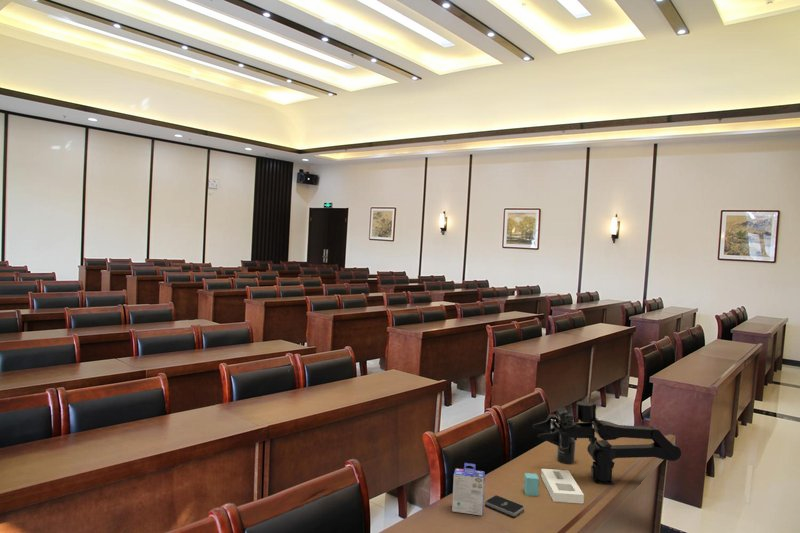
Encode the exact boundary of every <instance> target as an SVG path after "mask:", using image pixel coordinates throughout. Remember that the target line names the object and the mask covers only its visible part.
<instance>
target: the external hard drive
mask: <svg viewBox="0 0 800 533" xmlns="http://www.w3.org/2000/svg"><path fill="white" fill-rule="evenodd" d="M484 505H485V507H486V508H489V509H490V510H493V511H495V512H498V513H501V514H502V515H505V516H507V517H509V518H513V519H515V518H516V517H518V516H520V515H521V514H522V513H523V512H525V505H523V504H520V503H518V502H515V501H513V500H510V499H507V498H505V497H503V496H500V495H497V494H494V495H493V496H490V497H489V498H488V499H486V500H484Z"/></svg>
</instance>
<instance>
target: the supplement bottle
mask: <svg viewBox="0 0 800 533" xmlns="http://www.w3.org/2000/svg"><path fill="white" fill-rule="evenodd" d="M575 452H576V440H575V441H574V440H573V438H572V439H569V447H568V448H567V449H562V448H561V447H558V446H557V452H556V460H557V461H558V462H560V463H563V464H566V465H571V464H574V462H575V456H576V453H575Z"/></svg>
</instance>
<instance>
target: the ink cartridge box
mask: <svg viewBox="0 0 800 533" xmlns="http://www.w3.org/2000/svg"><path fill="white" fill-rule="evenodd" d="M463 464H464V466H463V468H455V469H454V473H453V478H452V479H453V480H452V481H453V483H452V501H451V502H452V503H451V505H452V507H451V512H454V513H461V514H467V515H476V516H483V514H484V505H485V483H486V482H485V481H486V480H485V479H486V476H485V475H486V474H485V473H486V472H485V471H483V470H476V464H475V463H469V462H464V463H463ZM468 467H469V468H468ZM470 467H472V468H470Z"/></svg>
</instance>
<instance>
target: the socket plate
mask: <svg viewBox="0 0 800 533" xmlns="http://www.w3.org/2000/svg"><path fill="white" fill-rule="evenodd" d="M540 471H541V472H540V477H541V479H542V481H543V484H544V486H545V487H546V489H547V492H548V493H549V495H550V498H551V499H552V502H554V503H556V502H557V503H569V504H579V505H580V504H581V505H583V504H584V502H585V500H584V499H585V494H584V493H583V491H582V490H581V488H580V486H579V484H578V483H577V482H576V480H575V479H574V477H573V476H572V473H571V472H570V471H569V470H567V469H566V470H565V469H564V470H563V469H551V468H541V470H540Z"/></svg>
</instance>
